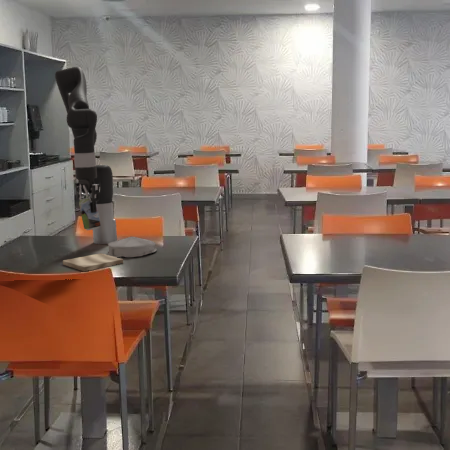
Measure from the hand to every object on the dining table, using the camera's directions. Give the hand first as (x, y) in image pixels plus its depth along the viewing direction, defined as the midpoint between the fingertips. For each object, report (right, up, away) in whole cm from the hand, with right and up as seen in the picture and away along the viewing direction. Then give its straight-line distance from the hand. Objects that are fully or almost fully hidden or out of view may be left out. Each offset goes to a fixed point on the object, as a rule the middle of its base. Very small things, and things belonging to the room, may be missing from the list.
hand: (89, 211), depth 230 cm
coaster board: (+1, -19, +3) cm, 19 cm away
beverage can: (+1, -7, +1) cm, 7 cm away
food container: (+13, -16, +21) cm, 29 cm away
